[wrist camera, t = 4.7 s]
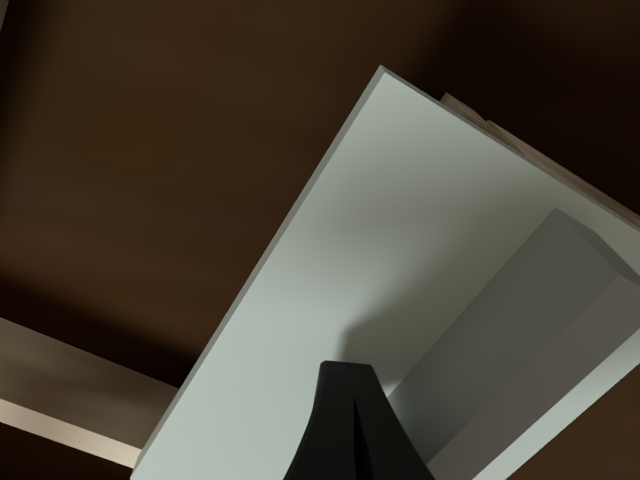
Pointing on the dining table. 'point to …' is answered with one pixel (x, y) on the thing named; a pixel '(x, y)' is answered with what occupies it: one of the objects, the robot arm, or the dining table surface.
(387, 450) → the robot arm
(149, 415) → the frame
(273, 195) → the dining table surface
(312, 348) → the lid
